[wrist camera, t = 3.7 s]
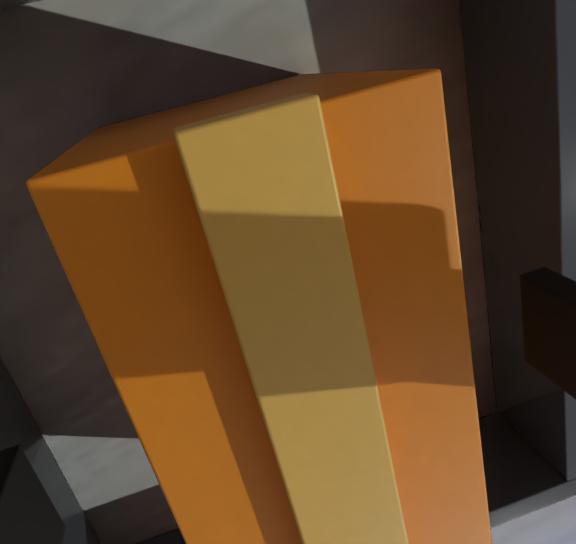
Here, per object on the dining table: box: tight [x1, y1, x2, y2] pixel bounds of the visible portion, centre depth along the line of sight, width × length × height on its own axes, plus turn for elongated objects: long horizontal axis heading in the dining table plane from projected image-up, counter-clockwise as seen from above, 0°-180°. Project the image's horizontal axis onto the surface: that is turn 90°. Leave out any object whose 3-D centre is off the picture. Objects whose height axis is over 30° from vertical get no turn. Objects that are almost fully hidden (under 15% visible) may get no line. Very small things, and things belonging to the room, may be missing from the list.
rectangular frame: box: [0, 0, 576, 544], centre depth 18 cm, size 24×22×5 cm
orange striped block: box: [26, 69, 492, 544], centre depth 16 cm, size 14×8×11 cm, turn 14°
